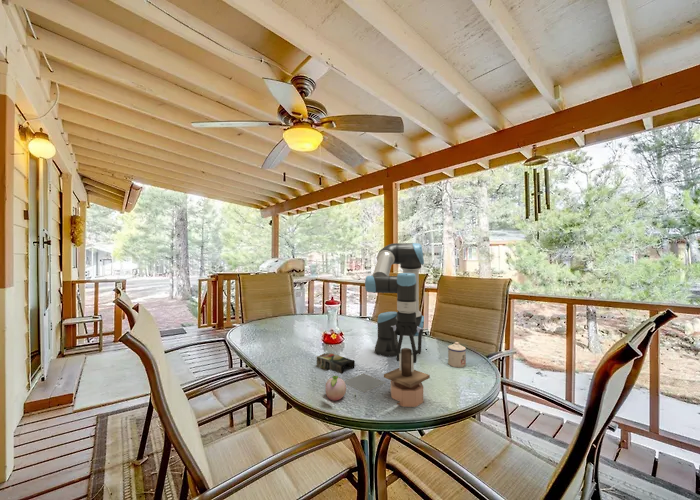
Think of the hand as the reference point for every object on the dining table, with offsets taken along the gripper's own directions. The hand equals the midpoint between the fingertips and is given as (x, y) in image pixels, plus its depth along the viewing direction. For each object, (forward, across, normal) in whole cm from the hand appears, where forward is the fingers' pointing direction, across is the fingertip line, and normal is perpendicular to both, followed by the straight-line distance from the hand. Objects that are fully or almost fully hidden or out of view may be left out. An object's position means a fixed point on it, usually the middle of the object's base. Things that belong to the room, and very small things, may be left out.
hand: (406, 369), depth 121 cm
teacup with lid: (+12, +21, +47) cm, 53 cm away
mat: (+12, -19, +7) cm, 23 cm away
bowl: (+12, 0, 0) cm, 12 cm away
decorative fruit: (+12, -27, -10) cm, 31 cm away
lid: (+3, 0, 0) cm, 3 cm away
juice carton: (+12, -38, +22) cm, 46 cm away
